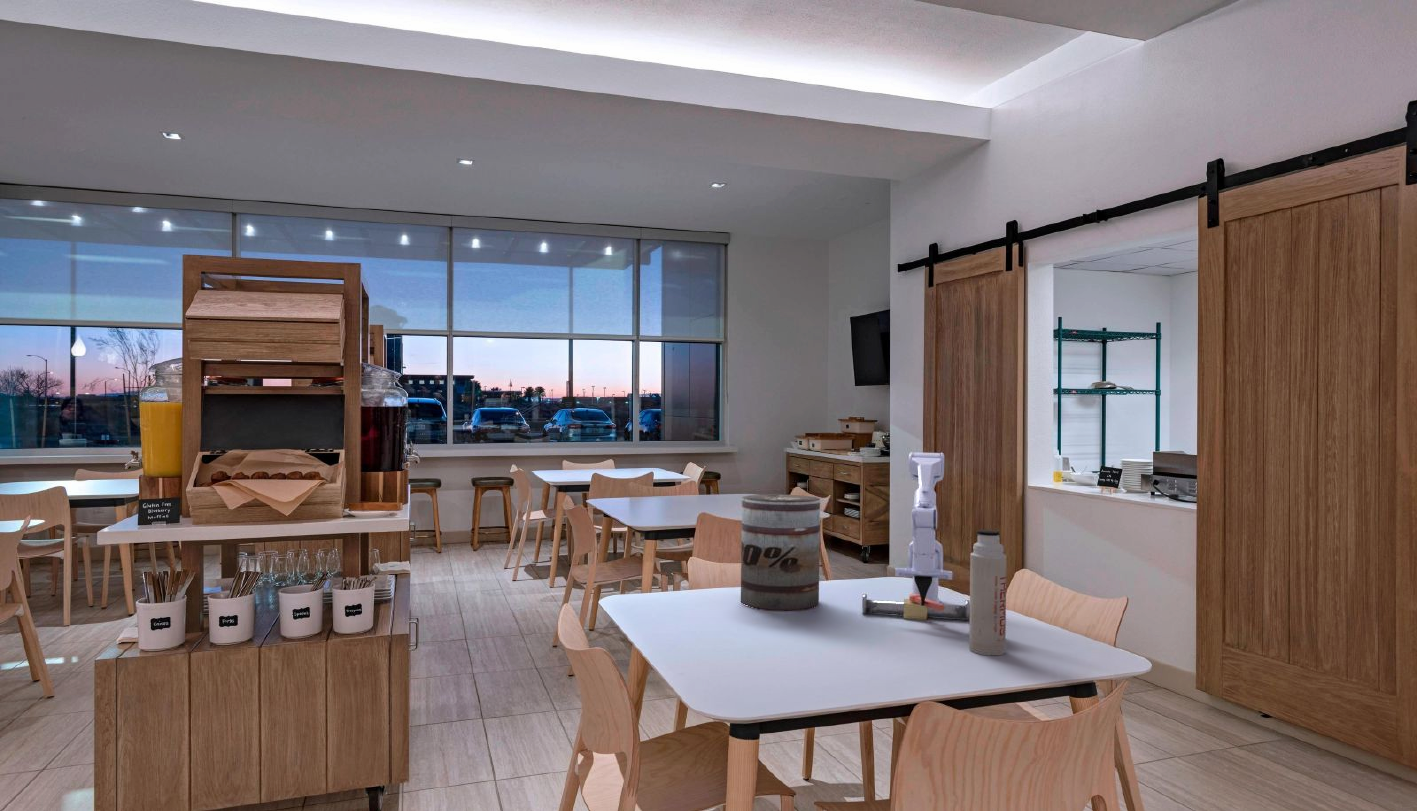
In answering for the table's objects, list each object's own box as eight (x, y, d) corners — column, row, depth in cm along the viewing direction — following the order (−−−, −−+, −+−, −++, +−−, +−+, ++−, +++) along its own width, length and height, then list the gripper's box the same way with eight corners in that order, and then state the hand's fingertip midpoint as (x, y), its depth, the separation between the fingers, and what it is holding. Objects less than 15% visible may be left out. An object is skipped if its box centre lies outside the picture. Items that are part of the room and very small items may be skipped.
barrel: (724, 599, 250) (726, 496, 251) (782, 590, 264) (783, 493, 264) (776, 615, 232) (777, 504, 233) (835, 604, 246) (836, 499, 246)
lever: (907, 599, 234) (907, 594, 234) (917, 598, 235) (917, 593, 235) (935, 610, 221) (935, 605, 221) (946, 609, 222) (946, 604, 222)
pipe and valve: (863, 610, 239) (863, 591, 239) (968, 617, 233) (968, 598, 233) (862, 615, 233) (862, 596, 233) (969, 622, 227) (970, 602, 227)
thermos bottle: (1012, 653, 198) (1014, 531, 198) (987, 657, 195) (988, 533, 195) (987, 644, 205) (988, 527, 206) (961, 648, 202) (963, 529, 202)
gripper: (895, 554, 224) (894, 606, 223) (953, 557, 220) (952, 610, 220) (895, 549, 230) (894, 600, 230) (951, 552, 227) (951, 604, 227)
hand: (923, 605), depth 226 cm, fingers closed, pressing on lever
